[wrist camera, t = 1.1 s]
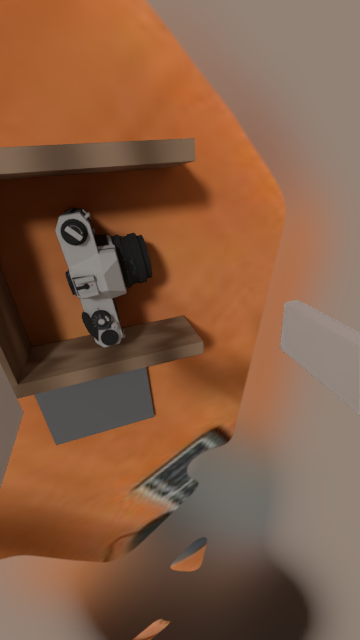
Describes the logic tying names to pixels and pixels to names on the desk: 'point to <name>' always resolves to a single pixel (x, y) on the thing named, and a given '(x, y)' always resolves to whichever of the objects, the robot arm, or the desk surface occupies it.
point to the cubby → (83, 352)
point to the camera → (100, 271)
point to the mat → (96, 405)
